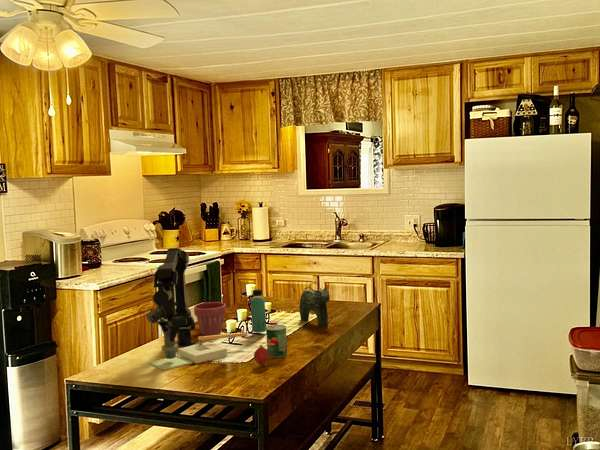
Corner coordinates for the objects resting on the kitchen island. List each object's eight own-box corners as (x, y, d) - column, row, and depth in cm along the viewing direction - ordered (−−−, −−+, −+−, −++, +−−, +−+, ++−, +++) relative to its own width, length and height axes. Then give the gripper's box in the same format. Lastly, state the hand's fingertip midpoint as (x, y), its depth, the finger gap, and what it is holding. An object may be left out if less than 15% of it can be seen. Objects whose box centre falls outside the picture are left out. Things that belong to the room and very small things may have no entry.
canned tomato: (290, 352, 260) (289, 325, 259) (283, 358, 253) (282, 330, 252) (271, 351, 263) (270, 324, 262) (264, 356, 255) (262, 329, 254)
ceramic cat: (332, 325, 302) (330, 282, 300) (320, 328, 298) (319, 284, 297) (307, 318, 318) (305, 277, 317) (296, 320, 315) (294, 279, 313)
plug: (159, 357, 251) (158, 331, 250) (173, 354, 255) (172, 328, 254) (167, 360, 246) (165, 334, 246) (181, 357, 250) (179, 331, 249)
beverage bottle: (264, 336, 287) (262, 291, 286) (250, 335, 289) (248, 291, 287) (268, 332, 294) (266, 288, 292) (254, 332, 295) (252, 288, 293)
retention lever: (198, 340, 264) (198, 337, 264) (198, 339, 266) (197, 336, 266) (247, 336, 269) (247, 333, 269) (246, 334, 271) (246, 332, 271)
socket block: (178, 356, 261) (177, 344, 260) (208, 349, 269) (208, 338, 269) (195, 363, 250) (195, 351, 249) (227, 355, 258) (226, 344, 258)
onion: (254, 364, 246) (253, 343, 245) (269, 363, 246) (268, 342, 246) (254, 368, 240) (253, 347, 240) (270, 367, 241) (269, 346, 240)
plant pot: (206, 338, 287) (204, 309, 286) (189, 333, 297) (187, 305, 296) (233, 332, 296) (231, 304, 295) (215, 327, 307) (214, 300, 305)
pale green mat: (149, 363, 252) (149, 362, 252) (177, 357, 259) (177, 355, 259) (163, 370, 242) (163, 368, 242) (192, 363, 250) (192, 361, 250)
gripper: (136, 300, 251) (139, 340, 252) (159, 307, 236) (161, 349, 238) (163, 295, 258) (165, 334, 259) (186, 302, 243) (188, 343, 245)
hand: (169, 340), depth 250 cm, fingers closed on plug, 4 cm apart
